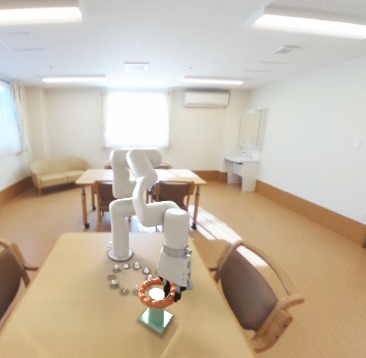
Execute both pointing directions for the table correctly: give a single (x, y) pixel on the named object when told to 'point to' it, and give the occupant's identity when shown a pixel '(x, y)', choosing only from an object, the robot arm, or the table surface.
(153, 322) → the mint knob on plate
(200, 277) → the table surface
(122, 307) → the table surface
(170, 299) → the ring
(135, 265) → the game piece set
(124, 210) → the robot arm
